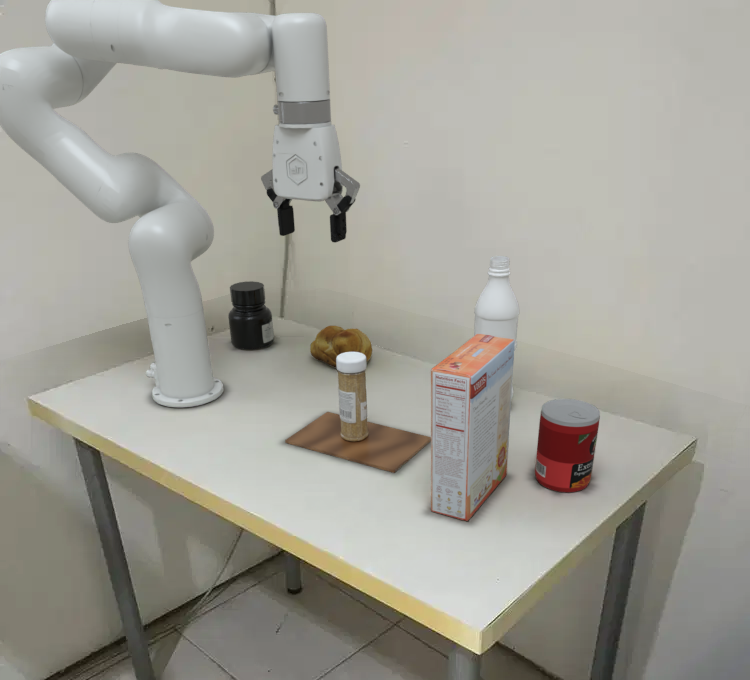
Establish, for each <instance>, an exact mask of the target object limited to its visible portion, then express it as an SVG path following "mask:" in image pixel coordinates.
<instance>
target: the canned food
mask: <svg viewBox="0 0 750 680" xmlns="http://www.w3.org/2000/svg"><path fill="white" fill-rule="evenodd" d="M539 417H540V418H539V423H538V433H537V445H536V455H535V467H534V475H535V479H536V481H537V482H538V483H539V485H541V486H543V487H544V488H546V489H549V490H551V491H554V492H559V493H575V492H580V491H582V490H585V488H587V487H588V485H589V483H590V482H591V480H592V474H593V468H594V459H595V453H596V447H597V440H598V433H599V428H600V420H601V411H600V409H599V408H598V407H596V406H595V405H593V404H592V403H589V402H587V401H584V400H580V399H576V398H575V399H574V398H557V399H551V400H548V401H546V402H545V403H543V404H542V406H541V410H540V415H539Z"/></svg>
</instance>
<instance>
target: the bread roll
mask: <svg viewBox="0 0 750 680" xmlns="http://www.w3.org/2000/svg"><path fill="white" fill-rule="evenodd" d="M372 346H373V345H372V341H371V340H370V337H368V335H367V334H366V333H365V332H363V331H361V330H360V329H359V328H345V329H344V328H343V327H342V326H339V325H328V326H325V327H324V328H323V329H320V331H318V332H317V334H316V336H315V338H314V340H313V341H312V342H311V343H310V348H309V352H310V354H311V356H312V357H313V359H315V360H317V361H318V362H322V363H324V364H326V365H328V366H330V367H332V368H334V369H337V367H336V358H337V356H338V355H339V354H341V353H345V352H360V353H363V354H364V355H365V356H366V362H367V363H368V361H370V359H371V358H372V354H373V347H372Z"/></svg>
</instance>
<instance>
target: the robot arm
mask: <svg viewBox="0 0 750 680" xmlns="http://www.w3.org/2000/svg"><path fill="white" fill-rule="evenodd" d="M44 24H45V29H46V31H47V34H48V37H49V38H50V39H51V41H52V44H51V45H44V46H42V45H41V46H23V47H15V48H11V49H8V50H5V51H3V52H0V127H1V128H2V130H3V131H4V132H5V134H6V135H7V136H8V138H10V139H11V140H12V141H13V142H14V143H15V144H16V145H17V146H18V147H19V148H20V149H22V150H23V151H24V152H25V153H26V154H27V155H29V156H30V157H31V158H32V159H34V160H35V161H36V162H37V163H38V164H39V165H41V166H42V167H43V168H44V169H46V171H47V172H49V173H50V174H51V176H53V177H54V179H56V181H58V182H59V183H60V184H61V185H62V186H63V187H65V189H66V190H68V191H69V192H70V193H71V194H72V195H73V196H74V197H75V198H76V199H77V200H78V201H80V203H82V204H83V205H84V206H85V207H86V208H87V209H88V210H89V211H90V212H91V213H93V214H94V215H95V216H96V217H97V218H99V219H100V220H102V221H104V222H106V223H108V224H119V223H123V222H126V221H128V220H131V219H133V218H135V217H139V218H138V219H137V220H136V221H135V223H133V225H132V227H131V229H130V232H129V234H128V240H127V241H128V242H127V244H128V252H129V255H130V259H131V261H132V264H133V267H134V269H135V272H136V275H137V279H138V282H139V285H140V290H141V294H142V299H143V304H144V309H145V314H146V317H147V318H146V319H147V325H148V329H149V335H150V340H151V346H152V352H153V357H154V362H151V364H150V366H149V369H147V370H146V371H145V376H146V377H147V378H151V379H154V382H155V386H154V387H153V388H152V390H151V397H152V399H153V401H154V402H155V403H156V404H159V405H161V406H164V407H168V408H191V407H197V406H202V405H205V404H207V403H211V402H212V401H214V400H217V399H218V398H220V397H221V395H222V394H224V393H223V392H224V383H223V381H222V380H220V379H219V378H218V377H215V376H214V373H213V368H212V366H213V365H212V360H211V352H210V346H209V340H208V333H207V324H206V318H205V312H204V304H203V298H202V293H201V292H202V291H201V287H200V285H199V281H198V279H197V277H196V275H195V273H194V270H193V267H192V262H193V261H194V260H196V259H197V258H199V257H200V256H201V255H204V254H205V253H206V252H207V251H208V250H209V249H210V247H211V246H212V243H213V241H214V239H215V238H214V237H215V229H214V224H213V220H212V218H211V216H210V214H209V213H208V212H207V210H206V209H205V208H204V206H203V205H202V204H201V203H200V202H199V201H198V200H197V199H196V198H195V197H194V196H193V195H192V194H191V193H190V192H188V190H186V189H185V188H184V186H182V185H181V184H180V183H179V182H178V181H177V180H176V179H175V178H174V177H173V176H172V175H171V174H170V173H168V172H167V171H166V170H165V169H164V167H162V166H161V165H160V164H159V163H158V162H156V161H155V160H153V159H152V158H150V157H148V156H146V155H144V154H142V153H138V152H123V153H120V154H119V153H118V154H116V155H115V154H111V153H110V152H109V151H107V150H105V149H104V148H103V147H102V146H101V145H99V144H98V143H97V142H96V141H95V140H94V139H93V138H92V137H91V136H90V135H89V134H88V133H87V132H86V131H85V130H84V129H82V127H79V125H77V124H75V122H74V123H73V122H72V121H70V120H69V119H67V118H65V117H64V116H62V115H61V114H60V113H58V112H57V111H56V110H55V109H60V108H61V109H62V108H66V107H71V106H74V105H77V104H79V103H81V102H83V100H85V99H86V98H87V97H88V96H89V95H90V94H91V93H92V92H93V91H94V90H95V89H96V88H97V86H98V85H99V84H100V83H101V82H102V81H103V80H104V78H106V76H107V75H108V74H109V73H110V72H111V70H112V69H113V68H114V67H115V66H116V65H117V64H124V65H132V66H138V67H145V68H146V67H147V68H154V69H158V70H169V71H174V72H181V73H186V74H195V75H202V76H212V77H219V78H242V77H247V76H255V75H262V74H265V73H270V72H274V73H275V86H276V100H277V104H274V105H273V107H272V111H273V114H274V115H275V116H277V115H278V123H279V124H275V125H274V129H273V137H272V153H271V154H272V155H271V156H272V157H271V158H272V159H271V161H272V166H271V167H272V169H270V170H269V171H267V172H266V173H264V174H263V175H261V176H260V180H261V182H262V183H261V184H262V185H263V187H264V189H265V190H266V196H267V197H268V198H269V200H270V201H271V202H272V206H273V208H274V209H276V211H277V221H278V232H279V236H281V237H283V236H284V237H285V236H288V235H290V234H293V233H294V232H295V231H296V227H295V214H294V213H295V212H294V207H293V205H290V204H291V202H292V201H293V200H297V201H307V202H325V204H327V206H328V207H329V209H330V210H331V212H332V214H330V215H329V228H330V229H329V230H330V241H331V242H332V243H339V242H341V241H343V240H346V238H347V231H348V230H347V212H349V211H350V209H351V207H352V205H354V204H355V202H356V200H357V199H356V198H357V196H358V193H359V191H360V188H361V184H360V182H359V181H357V180H356V179H354V178H353V177H352V176H350V175H349V174H348V173H346V171H344V170H343V164H342V156H341V148H340V142H339V138H338V133H337V129H336V126H335V124H332V106H331V87H330V86H331V85H330V63H329V62H330V61H329V42H328V41H329V40H328V26H327V22H326V19H325V17H324V16H323V15H322V14H320V13H317V12H288V13H287V12H286V13H280V14H278V15H273V14H265V13H258V12H247V11H230V12H229V11H215V10H205V9H197V8H196V9H194V8H186V7H178V6H172V5H167V4H164V3H162V2H161V0H49V2H48V4H47V6H46V8H45V11H44ZM344 188H345V195H344V196H343V194H342V193H343V189H344Z"/></svg>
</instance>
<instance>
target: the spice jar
mask: <svg viewBox="0 0 750 680" xmlns="http://www.w3.org/2000/svg"><path fill="white" fill-rule="evenodd" d="M367 363H368V361H367V362H366V356H365V355H364V354H363V353H360V352H345V353H341V354H339V355H338V356H337V358H336V367H337V368H336V371H337V378H338V380H337V381H338V387H337V388H338V389H337V390H338V408H339V411H338V412H339V415H340V420H341V433H340V435H341V437H342V438H343V439H345V440H347V441H354V442H355V441H360V440H363V439H365V438H366V437H367V436H368V426H367V422H368V398H367V397H368V396H367V395H368V393H367V379H366V377H367V376H366V371H367V367H368V366H367Z"/></svg>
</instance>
